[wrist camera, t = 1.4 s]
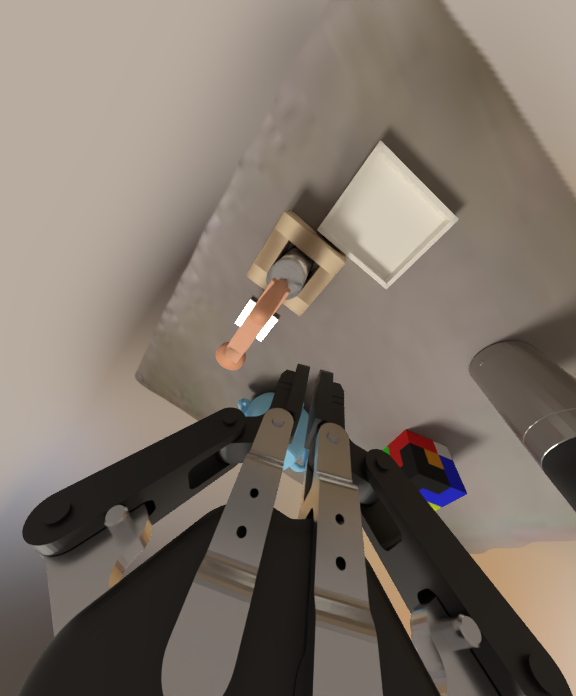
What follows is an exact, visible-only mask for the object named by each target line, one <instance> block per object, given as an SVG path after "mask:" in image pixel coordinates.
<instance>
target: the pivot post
mask: <svg viewBox="0 0 576 696" xmlns="http://www.w3.org/2000/svg"><path fill="white" fill-rule="evenodd" d="M256 303H257V302H256V301H255V300H254V299H252V298H251V299H250V301H249V302H248V304H247V305H246V307H245V308H244V310H243V311H242V313H241V315H240V316H239V318H238V319H237V321H236V322H235V324H237V325H238V326H241V325H242V323H243V322H244V320H245V319H246V317H247V316H248V314H249V313H250V311H251V310H252V309H253V307H254V306H255V304H256ZM278 319H279V318H278V317H277V316H275V315H274V314H273V316H272V317H271V318H270V320H269V321H268V322H267V324H266V325H265V326H264V328H263V329H262V330H261V332H260V333H259V334H258V336H257V337H256V338H257V339H258V340H259V341H262V340H263V338H264V337H265V336H266V334H267V333H268V332H269V331H270V329H271V328H272V327H273V326H274V324H275V323H276V322H277V321H278ZM231 340H232V339H231ZM245 352H246V351H245Z"/></svg>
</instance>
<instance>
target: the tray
mask: <svg viewBox="0 0 576 696" xmlns="http://www.w3.org/2000/svg"><path fill="white" fill-rule="evenodd" d="M458 220H459V219H458V218H457V217H456V216H455V215H454V214H453V213H452V212H451V211H450V210H449V209H448V208H447V207H446V206H445V205H444V204H443V203H442V202H441V201H440V200H439V199H438V198H437V197H436V196H435V195H434V194H433V193H432V192H431V191H430V190H429V189H428V188H427V187H426V186H425V185H424V184H423V183H422V182H421V181H420V180H419V179H418V178H417V177H416V176H415V175H414V174H413V173H412V172H411V171H410V170H409V169H408V167H407V166H406V165H405V164H404V163H403V162H402V161H401V160H400V159H399V158H398V157H397V156H396V155H395V154H394V153H393V152H392V151H391V150H390V149H389V148H388V147H387V146H386V145H385V144H384V143H383V142H382V141H381V140H380V141H379V143H378V144H377V146H376V147H375V149H374V150H373V151H372V153H371V154H370V156H369V157H368V158H367V160H366V161H365V163H364V164H363V166H362V167H361V168H360V170H359V171H358V173H357V174H356V175H355V177H354V178H353V180H352V181H351V183H350V184H349V185H348V187H347V188H346V190H345V191H344V192H343V194H342V195H341V197H340V198H339V200H338V201H337V202H336V204H335V205H334V207H333V208H332V209H331V211H330V212H329V214H328V215H327V217H326V218H325V219H324V221H323V222H322V224H321V225H320V226H319V228H318V229H317V230H318V231H319V232H320V233H321V234H322V235H323V236H325V237H326V238H327V239H328V240H329V241H330V242H332V243H333V244H334V245H335V246H336V247H337V248H339V249H340V250H341V251H342V252H343V253H344V254H346V255H347V256H348V257H349V258H350V259H351V260H353V261H354V262H355V263H356V264H357V265H358V266H360V267H361V268H362V269H363V270H364V271H365V272H367V273H368V274H369V275H370V276H371V277H372V278H374V279H375V280H376V281H377V282H378V283H379V284H381V285H382V286H383V287H384V288H385V289H387V288H388V287H389V286H390V285H391V284H392V283H393V282H395V281H396V280H397V279H398V278H399V277H400V276H401V275H402V274H403V273H404V272H405V271H406V270H407V269H408V268H409V267H410V266H411V265H412V264H413V263H414V262H415V261H416V260H417V259H418V258H419V257H420V256H422V255H423V254H424V253H425V252H426V251H427V250H428V249H429V248H430V247H431V246H432V245H433V244H434V243H435V242H436V241H437V240H438V239H439V238H440V237H441V236H442V235H443V234H444V233H445V232H446V231H448V230H449V229H450V228H451V227H452V226H453V225H454V224H455V223H456V222H457V221H458Z"/></svg>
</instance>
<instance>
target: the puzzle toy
mask: <svg viewBox="0 0 576 696" xmlns="http://www.w3.org/2000/svg"><path fill="white" fill-rule="evenodd" d="M383 451H384V452H386V453H387V454H389V455H390V456H391V457H392V458H393V459H394V460H395V462H396V463H397V464H398V465H399V467H400V468H401V469H402V470H403V472H404V473H405V474H406V475H407V477H408V478H409V479H410V480H411V482H412V483H413V484H414V485H415V487H416V488H417V489H418V490H419V492H420V493H421V494H422V496H423V497H424V498H425V499H426V501H427V502H428V503H429V504H430V506H431V507H432V508H433V509H434V511H436V510H438V509H440V508H442V507H443V506H445V505H447V504H449V503H451V502H453V501H455V500H457V499H459V498H460V497H462V496H464V495H466V494H467V492H466V490H465V487H464V485H463V483H462V480H461V478H460V476H459V474H458V471H457V469H456V467H455V465H454V462H453V460H452V458H451V455H450V453H449V451H448V449H447V447H446V446H444V445H442V444H439V443H437V442H434V441H432V440H430V439H427V438H425V437H422V436H420V435H417V434H415V433H413V432H410V431H408V430H405V431H403V432H402V433H401V434H400V435H399V436H398V437H397V438H396V439H395V440H394V441H392V442H391V443H390V444H389V445H388V446H387V447H386V448H385V449H384V450H383Z"/></svg>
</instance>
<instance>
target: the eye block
mask: <svg viewBox="0 0 576 696" xmlns="http://www.w3.org/2000/svg"><path fill="white" fill-rule="evenodd" d="M290 242H292V243H293V244H294V245H295V246H297V247H298V248H299V249H300V250H301V251H303V252H304V253H305V254H306V255H308V256H309V257H310V258H311V259H312V260H314V261H315V262H316V263H317V264H318V266H317V267H316V268H315V270H314V271H313V272H312V274H311V275H310V276H309V277H308V279H307V280H306V281H305V283H304V285H303V287H302V289H301V291H300V293H299V294H298V295H297V296H296V297H294V298H292V299H289V300H284V301H283V304H284V305H285V306H287V307H288V308H289V309H291V310H292V311H293V312H295V313H296V314H297V315H299V316H301V315H302V314H303V312H304V311H305V310H306V309H307V308H308V306H309V305H310V304H311V303H312V302H313V301H314V299H315V298H316V297H317V296H318V295H319V294H320V292H321V291H322V290H323V289H324V288H325V286H326V285H327V284H328V283H329V282H330V281H331V279H332V278H333V277H334V276H335V275H336V274H337V272H338V271H339V270H340V269H341V268H342V266H343V265H344V264H345V256H344V255H343V254H342V253H341V252H339V251H338V250H337V249H336V248H335V247H334V246H332V245H331V244H330V243H329V242H328V241H327V240H325V239H324V238H323V237H322V236H321V235H320V234H318V233H317V232H316V231H315V230H314V229H313V228H311V227H310V226H309V225H308V224H307V223H306V222H304V221H303V220H302V219H301V218H300V217H299V216H297V215H296V214H295V213H294V212H293V211H284V213H283V215H282V216H281V218H280V220H279V221H278V223H277V225H276V226H275V228H274V230H273V231H272V233H271V235H270V236H269V238H268V240H267V242H266V243H265V245H264V247H263V248H262V250H261V252H260V253H259V255H258V257H257V258H256V260H255V262H254V263H253V265H252V267H251V268H250V270H249V272H248V273H247V275H246V276H247V277H248V278H250V279H251V280H252V281H254V282H255V283H256V284H258V285H259V286H260V287H262V288H263V289H264V290H265V289H266V288H267V284H266V276H267V273H268V271H269V269H270V268H271V267H272V266H273V265H274V264H275V263H276V262H277V261H279V259H280V258H281V256H282V254H283V253H284V251H285V250H286V248H287V247H288V245H289V244H290Z"/></svg>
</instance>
